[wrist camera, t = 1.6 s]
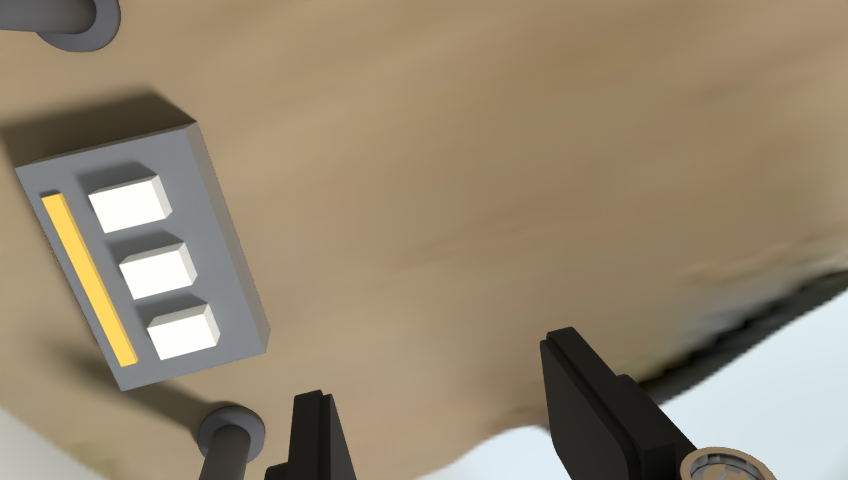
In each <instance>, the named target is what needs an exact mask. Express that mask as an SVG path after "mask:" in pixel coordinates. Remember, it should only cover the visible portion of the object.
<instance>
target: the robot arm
mask: <svg viewBox="0 0 848 480" xmlns="http://www.w3.org/2000/svg"><path fill="white" fill-rule="evenodd" d="M540 351H541V359H542V367H543V375H544V383H545V391H546V399H547V407H548V415H549V423H550V431H551V438H552V442H553V445H554V448H555V451H556V453H557V455H558V456H559V458H560V460H561V462H562V463H563V465H564V467H565V469H566V470H567V472H568V474H569V476H570V478H571V479H572V480H777V479H776V478H775V476H774V475H773V473H772V472H771V471H770V470H769V469H768V468H767V467H766V466H765V465H764V464H763V463H762V462H760V461H759V460H757V459H756V458H754V457H753V456H751V455H748V454H746V453H744V452H741V451H739V450H735V449H730V448H725V447H707V448H702V449H697V448H696V447H695V446H694V445H693V444H692V443H691V442H690V441H689V439H687V437H686V436H685V435H684V434H683V433H682V432H681V431H680V430H679V429H678V428H677V427H676V426H675V424H674V423H673V422H672V421H671V420H670V419H669V418H668V417H667V416H666V415H665V414H664V412H662V410H661V409H660V408H659V407H658V406H657V405H656V404H655V403H654V402H653V401H652V400H651V398H650V397H649V396H648V395H647V394H646V393H645V392H644V391H643V390H642V389H641V388H640V387H639V386H638V384H637V383H636V382H635V381H634V380H633V379H632V378H631V377H629V376H628V375H625V374H622V375H619V376H616V375H615V374H614V373H613V372H612V370H611V369H610V368H609V367H608V366H607V365H606V364H605V363H604V361H603V360H602V359H601V358H600V357H599V356H598V355H597V354H596V352H595V351H594V350H593V349H592V348H591V347H590V346H589V345H588V343H587V342H586V341H585V340H584V339H583V338H582V337H581V336H580V334H579V333H578V332H577V331H576V330H575V329H574V328H573V327H567V328H563V329H559V330H555V331H551V332H548V333H547V336H546V340H542V341H540ZM264 480H357V479H356V476H355V472H354V469H353V465H352V462H351V458H350V455H349V451H348V448H347V444H346V441H345V437H344V434H343V430H342V427H341V423H340V420H339V416H338V413H337V409H336V406H335V402H334V399H333V396H332V394H328V395H324V396H323V393H322V391H321V390H316V391H312V392H308V393H304V394H300V395H296V396H295V398H294V406H293V416H292V426H291V436H290V446H289V456H288V462H286V463H282V464H278V465H274V466H271V467H268V468H267V470H266V473H265V478H264Z"/></svg>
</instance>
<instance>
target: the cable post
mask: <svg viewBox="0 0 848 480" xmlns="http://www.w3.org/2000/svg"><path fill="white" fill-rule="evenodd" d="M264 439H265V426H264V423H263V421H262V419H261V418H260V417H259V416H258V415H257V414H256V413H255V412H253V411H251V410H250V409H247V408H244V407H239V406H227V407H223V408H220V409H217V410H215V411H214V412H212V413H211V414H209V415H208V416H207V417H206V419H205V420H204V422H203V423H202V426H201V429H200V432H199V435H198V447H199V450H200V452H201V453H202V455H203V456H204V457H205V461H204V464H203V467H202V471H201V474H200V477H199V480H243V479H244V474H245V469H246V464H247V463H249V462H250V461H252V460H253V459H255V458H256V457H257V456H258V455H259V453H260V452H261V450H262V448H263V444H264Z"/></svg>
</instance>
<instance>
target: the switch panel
mask: <svg viewBox="0 0 848 480" xmlns="http://www.w3.org/2000/svg"><path fill="white" fill-rule="evenodd" d="M14 170H15V172H16V174H17V176H18V178H19V180H20V182H21V184H22V186H23V188H24V190H25V192H26V195H27V197H28V199H29V201H30V203H31V205H32V207H33V209H34V211H35V213H36V215H37V217H38V219H39V221H40V224H41V226H42V228H43V230H44V232H45V234H46V236H47V238H48V240H49V242H50V244H51V246H52V248H53V251H54V253H55V255H56V257H57V259H58V261H59V263H60V265H61V267H62V269H63V271H64V273H65V275H66V277H67V280H68V282H69V284H70V286H71V288H72V290H73V292H74V294H75V296H76V298H77V300H78V302H79V304H80V306H81V309H82V311H83V313H84V315H85V317H86V319H87V321H88V323H89V325H90V327H91V329H92V331H93V333H94V335H95V338H96V340H97V342H98V344H99V346H100V348H101V350H102V352H103V354H104V356H105V358H106V360H107V362H108V365H109V367H110V369H111V371H112V373H113V375H114V377H115V379H116V381H117V383H118V385H119V387H120V389H121V391H126V390H130V389H134V388H137V387H141V386H145V385H148V384H152V383H156V382H160V381H163V380H167V379H171V378H174V377H178V376H182V375H186V374H189V373H193V372H197V371H201V370H204V369H208V368H212V367H215V366H219V365H223V364H227V363H230V362H234V361H238V360H242V359H245V358H249V357H253V356H256V355H260V354H264V353H265V352H266V348H267V343H268V338H269V334H270V326H269V324H268V321H267V318H266V315H265V312H264V309H263V307H262V304H261V301H260V298H259V295H258V292H257V290H256V287H255V284H254V281H253V278H252V275H251V273H250V270H249V267H248V264H247V261H246V258H245V255H244V253H243V250H242V247H241V244H240V241H239V238H238V236H237V233H236V230H235V227H234V224H233V221H232V219H231V216H230V213H229V210H228V207H227V204H226V202H225V199H224V196H223V193H222V190H221V187H220V185H219V182H218V179H217V176H216V173H215V170H214V167H213V165H212V162H211V159H210V156H209V153H208V150H207V148H206V145H205V142H204V139H203V136H202V133H201V131H200V128H199V125H198V122H193V123H189V124H185V125H180V126H176V127H172V128H167V129H163V130H159V131H155V132H150V133H146V134H142V135H137V136H133V137H129V138H124V139H120V140H116V141H112V142H107V143H103V144H99V145H94V146H90V147H86V148H81V149H77V150H73V151H69V152H64V153H60V154H56V155H51V156H47V157H43V158H40V159H38V160H35V161H32V162H30V163H27V164H24V165H21V166H19V167H16V168H14Z"/></svg>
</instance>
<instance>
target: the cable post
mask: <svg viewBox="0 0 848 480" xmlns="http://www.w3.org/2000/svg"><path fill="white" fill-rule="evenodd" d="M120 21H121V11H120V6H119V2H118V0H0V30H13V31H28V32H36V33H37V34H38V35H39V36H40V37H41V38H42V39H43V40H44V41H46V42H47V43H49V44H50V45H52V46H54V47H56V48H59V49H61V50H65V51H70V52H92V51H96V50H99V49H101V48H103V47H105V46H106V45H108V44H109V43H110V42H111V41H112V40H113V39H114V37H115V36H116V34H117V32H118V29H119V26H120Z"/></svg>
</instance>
